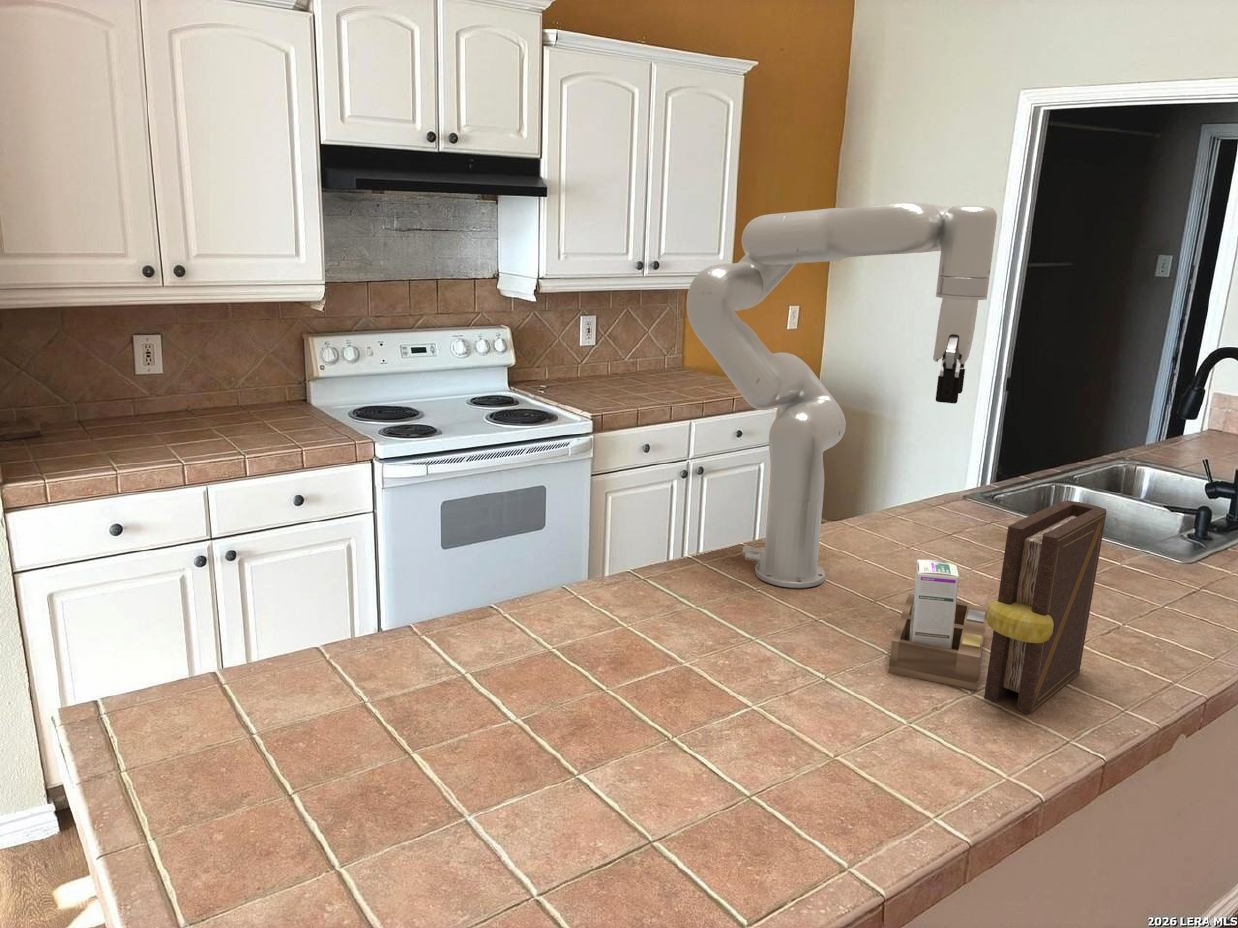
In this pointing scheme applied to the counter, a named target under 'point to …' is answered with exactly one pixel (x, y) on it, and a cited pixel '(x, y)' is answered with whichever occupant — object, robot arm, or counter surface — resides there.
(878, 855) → the counter surface
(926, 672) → the socket block
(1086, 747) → the counter surface
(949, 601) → the syrup box
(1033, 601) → the book
